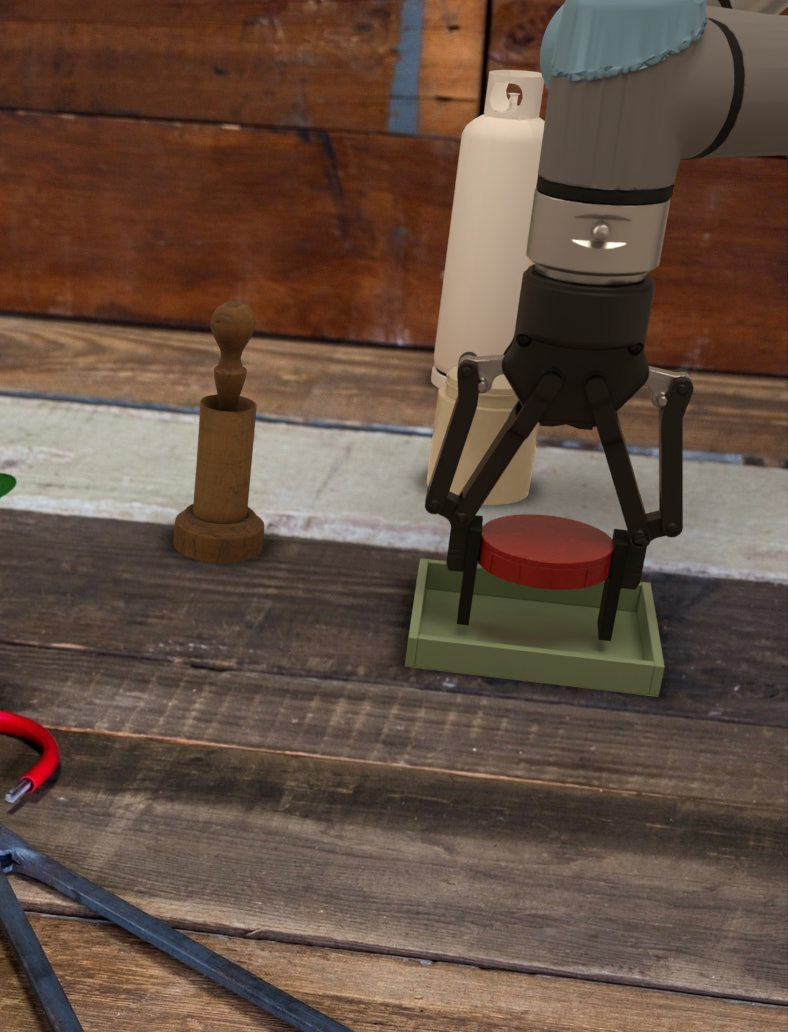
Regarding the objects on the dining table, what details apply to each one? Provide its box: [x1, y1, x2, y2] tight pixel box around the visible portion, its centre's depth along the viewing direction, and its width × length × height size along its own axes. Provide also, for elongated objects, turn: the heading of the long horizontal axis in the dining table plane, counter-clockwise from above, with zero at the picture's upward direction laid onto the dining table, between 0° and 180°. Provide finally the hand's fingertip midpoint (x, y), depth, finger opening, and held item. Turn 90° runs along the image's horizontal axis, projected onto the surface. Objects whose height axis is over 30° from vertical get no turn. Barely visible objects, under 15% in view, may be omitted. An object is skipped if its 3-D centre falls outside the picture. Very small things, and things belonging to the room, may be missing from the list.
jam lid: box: [477, 513, 614, 590], centre depth 106 cm, size 8×8×2 cm
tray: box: [404, 557, 666, 698], centre depth 109 cm, size 15×13×2 cm
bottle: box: [430, 69, 545, 389], centre depth 152 cm, size 8×8×28 cm
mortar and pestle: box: [172, 301, 265, 564], centre depth 118 cm, size 7×6×18 cm
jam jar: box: [425, 366, 540, 506], centre depth 132 cm, size 8×8×10 cm
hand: (533, 623), depth 108 cm, fingers closed on jam lid, 8 cm apart
